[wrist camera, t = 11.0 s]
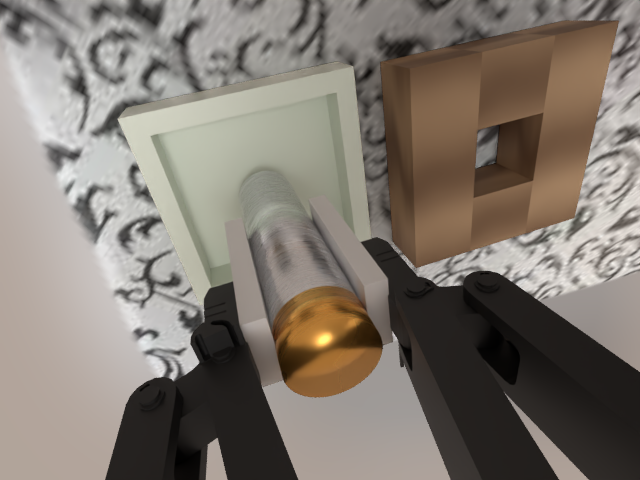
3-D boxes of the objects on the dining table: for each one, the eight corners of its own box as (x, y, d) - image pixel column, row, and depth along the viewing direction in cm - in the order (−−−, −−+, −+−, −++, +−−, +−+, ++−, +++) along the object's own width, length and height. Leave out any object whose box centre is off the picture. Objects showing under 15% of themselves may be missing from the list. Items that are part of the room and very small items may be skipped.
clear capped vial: (231, 178, 20) (270, 339, 10) (287, 164, 20) (378, 304, 10) (246, 228, 21) (293, 410, 11) (298, 213, 22) (386, 376, 12)
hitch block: (380, 61, 21) (410, 68, 18) (565, 20, 23) (619, 20, 20) (392, 241, 27) (416, 267, 25) (536, 198, 29) (574, 217, 26)
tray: (126, 107, 19) (117, 118, 17) (336, 61, 20) (353, 66, 18) (199, 280, 25) (199, 305, 22) (358, 233, 26) (372, 252, 24)
